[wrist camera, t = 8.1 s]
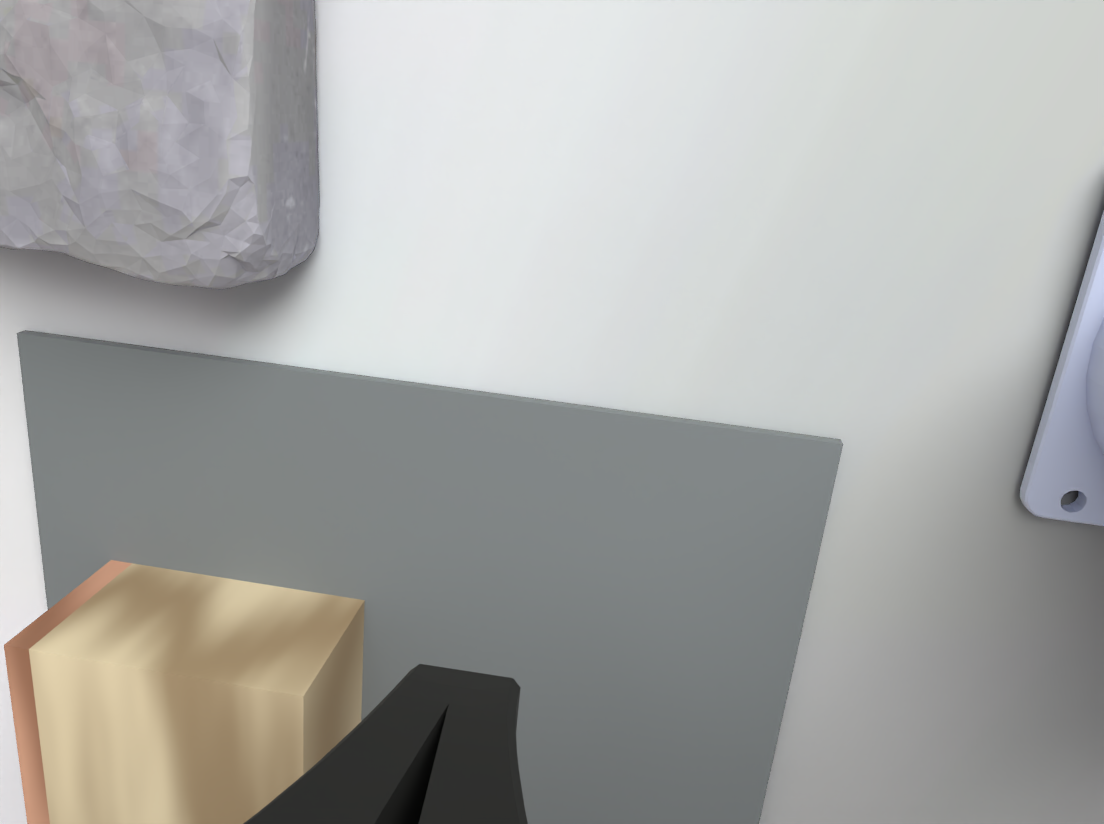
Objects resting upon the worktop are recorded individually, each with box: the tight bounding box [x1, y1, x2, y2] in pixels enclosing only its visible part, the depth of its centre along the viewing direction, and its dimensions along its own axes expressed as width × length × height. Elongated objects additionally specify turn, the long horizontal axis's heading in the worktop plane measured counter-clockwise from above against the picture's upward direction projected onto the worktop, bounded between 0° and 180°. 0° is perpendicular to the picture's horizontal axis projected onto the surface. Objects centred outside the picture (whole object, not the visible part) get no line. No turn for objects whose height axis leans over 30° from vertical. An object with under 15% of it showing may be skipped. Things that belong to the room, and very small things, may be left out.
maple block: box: [4, 560, 365, 824], centre depth 22 cm, size 4×6×7 cm
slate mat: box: [17, 330, 843, 824], centre depth 24 cm, size 20×16×1 cm
